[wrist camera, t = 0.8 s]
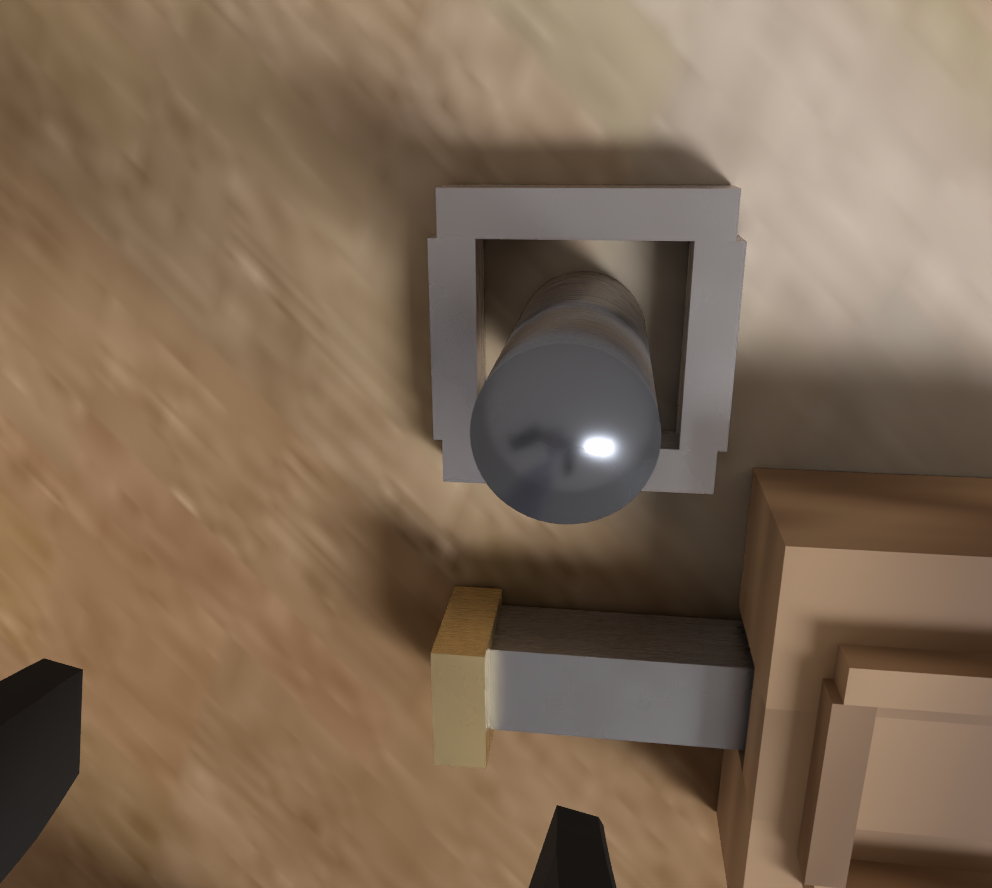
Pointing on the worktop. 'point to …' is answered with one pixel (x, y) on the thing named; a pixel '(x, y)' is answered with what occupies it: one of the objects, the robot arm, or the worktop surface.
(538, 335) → the metal cylinder
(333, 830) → the worktop surface
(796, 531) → the socket block
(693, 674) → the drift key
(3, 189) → the worktop surface
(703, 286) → the collar
